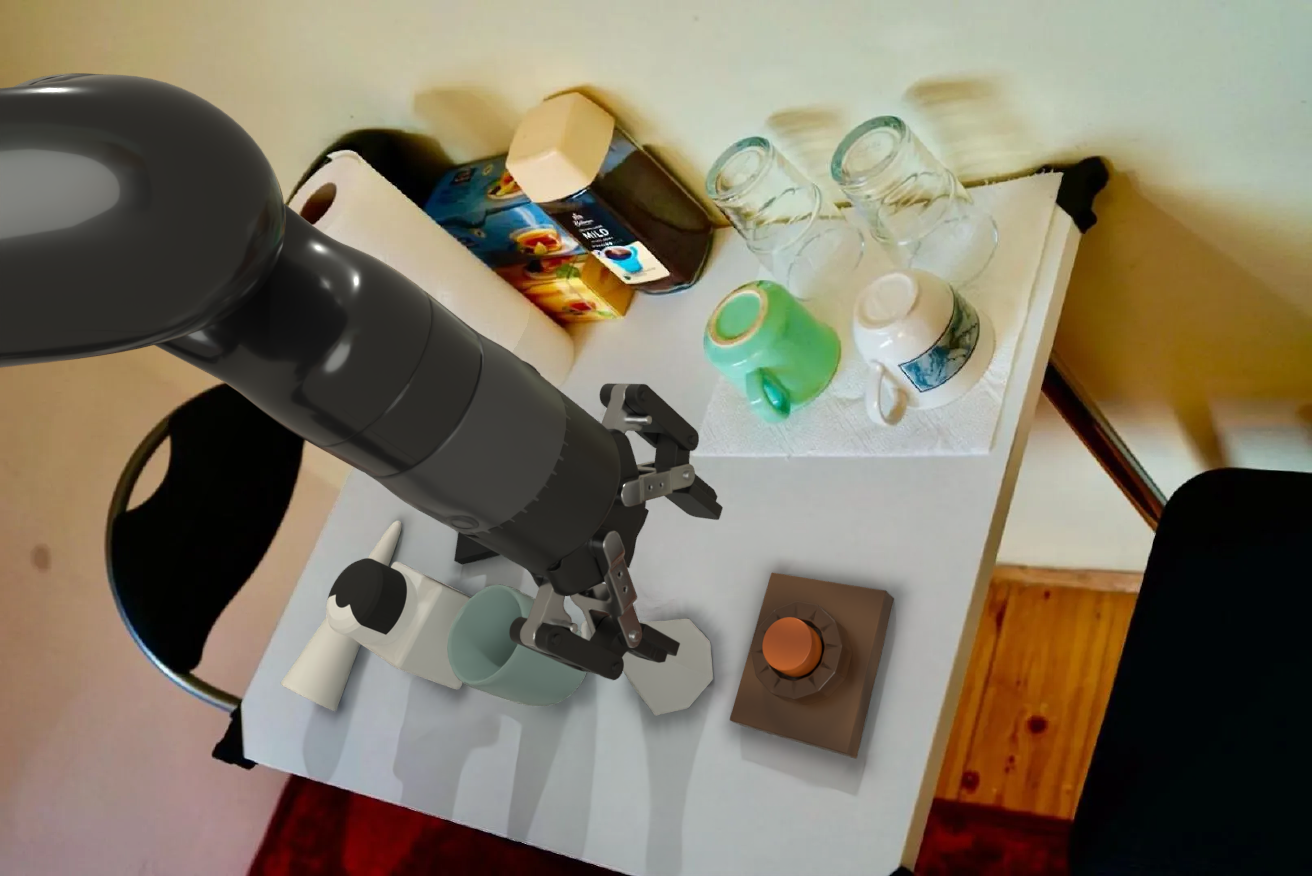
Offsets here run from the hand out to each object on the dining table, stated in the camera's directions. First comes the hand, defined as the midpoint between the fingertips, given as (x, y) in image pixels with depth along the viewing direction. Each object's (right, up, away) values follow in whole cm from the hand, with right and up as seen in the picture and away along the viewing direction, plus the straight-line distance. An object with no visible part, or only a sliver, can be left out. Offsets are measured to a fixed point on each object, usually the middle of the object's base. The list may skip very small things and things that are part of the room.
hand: (687, 578), depth 50 cm
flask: (0, -10, +19) cm, 22 cm away
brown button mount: (+9, -8, +13) cm, 18 cm away
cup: (-9, -11, +25) cm, 29 cm away
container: (-20, -11, +34) cm, 41 cm away
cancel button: (+8, -7, +11) cm, 15 cm away
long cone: (-30, -10, +42) cm, 52 cm away
